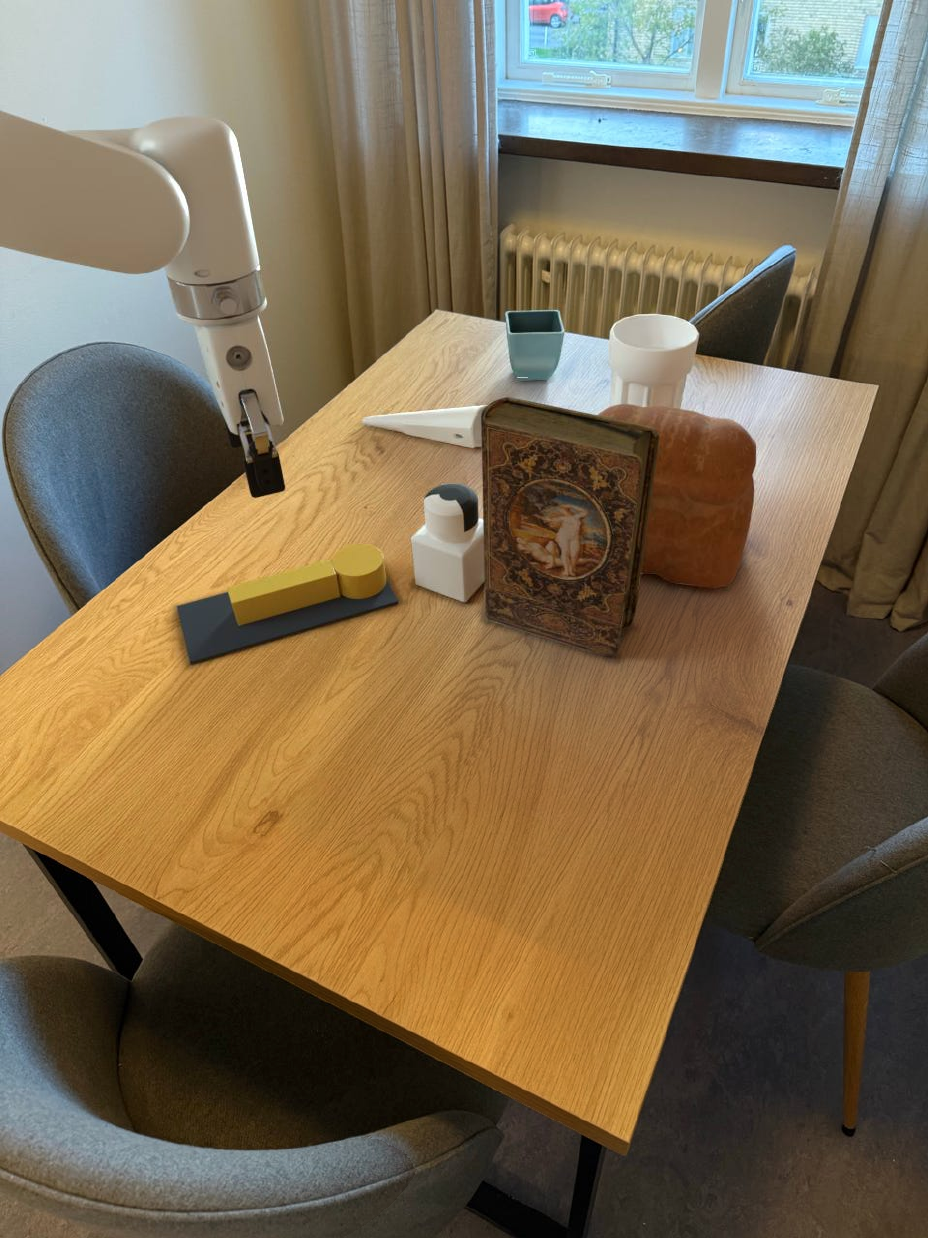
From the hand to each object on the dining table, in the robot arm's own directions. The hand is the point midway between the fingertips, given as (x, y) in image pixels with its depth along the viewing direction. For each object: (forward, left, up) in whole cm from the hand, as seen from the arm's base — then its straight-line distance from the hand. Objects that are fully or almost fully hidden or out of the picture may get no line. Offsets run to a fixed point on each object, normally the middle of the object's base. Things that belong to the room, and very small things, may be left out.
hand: (257, 467), depth 81 cm
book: (+18, -23, -21) cm, 36 cm away
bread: (+37, -24, -21) cm, 49 cm away
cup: (+55, -11, -21) cm, 60 cm away
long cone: (+40, +17, -21) cm, 48 cm away
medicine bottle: (+17, -9, -21) cm, 29 cm away
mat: (+1, +3, -21) cm, 21 cm away
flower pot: (+64, +15, -21) cm, 69 cm away
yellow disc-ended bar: (+4, +1, -20) cm, 21 cm away
